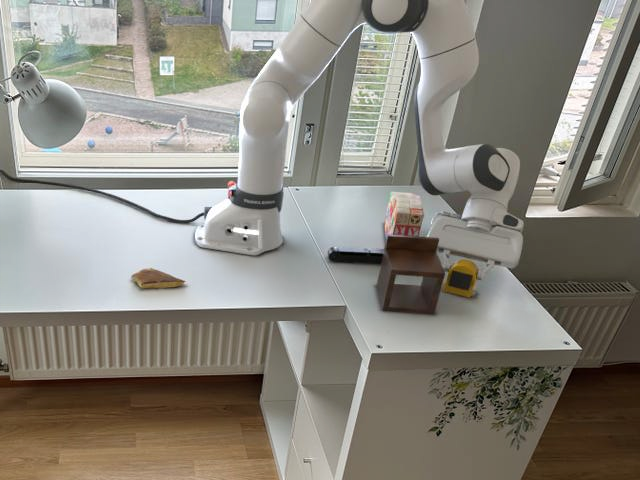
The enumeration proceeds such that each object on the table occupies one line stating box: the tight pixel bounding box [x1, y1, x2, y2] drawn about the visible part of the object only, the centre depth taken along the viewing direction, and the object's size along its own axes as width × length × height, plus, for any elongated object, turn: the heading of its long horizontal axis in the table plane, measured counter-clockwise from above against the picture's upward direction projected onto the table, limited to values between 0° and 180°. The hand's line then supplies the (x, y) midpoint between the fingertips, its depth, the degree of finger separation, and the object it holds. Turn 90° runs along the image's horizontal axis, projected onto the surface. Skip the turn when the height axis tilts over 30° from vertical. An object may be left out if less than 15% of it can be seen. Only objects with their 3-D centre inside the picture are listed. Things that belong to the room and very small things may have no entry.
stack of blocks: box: [384, 191, 425, 240], centre depth 176 cm, size 21×6×12 cm, turn 168°
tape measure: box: [442, 259, 479, 299], centre depth 156 cm, size 7×4×7 cm, turn 61°
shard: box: [130, 267, 187, 290], centre depth 157 cm, size 11×8×2 cm
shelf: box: [376, 234, 446, 315], centre depth 150 cm, size 11×11×13 cm
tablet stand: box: [327, 246, 384, 265], centre depth 169 cm, size 18×3×3 cm, turn 86°
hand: (462, 275), depth 155 cm, fingers closed on tape measure, 6 cm apart
